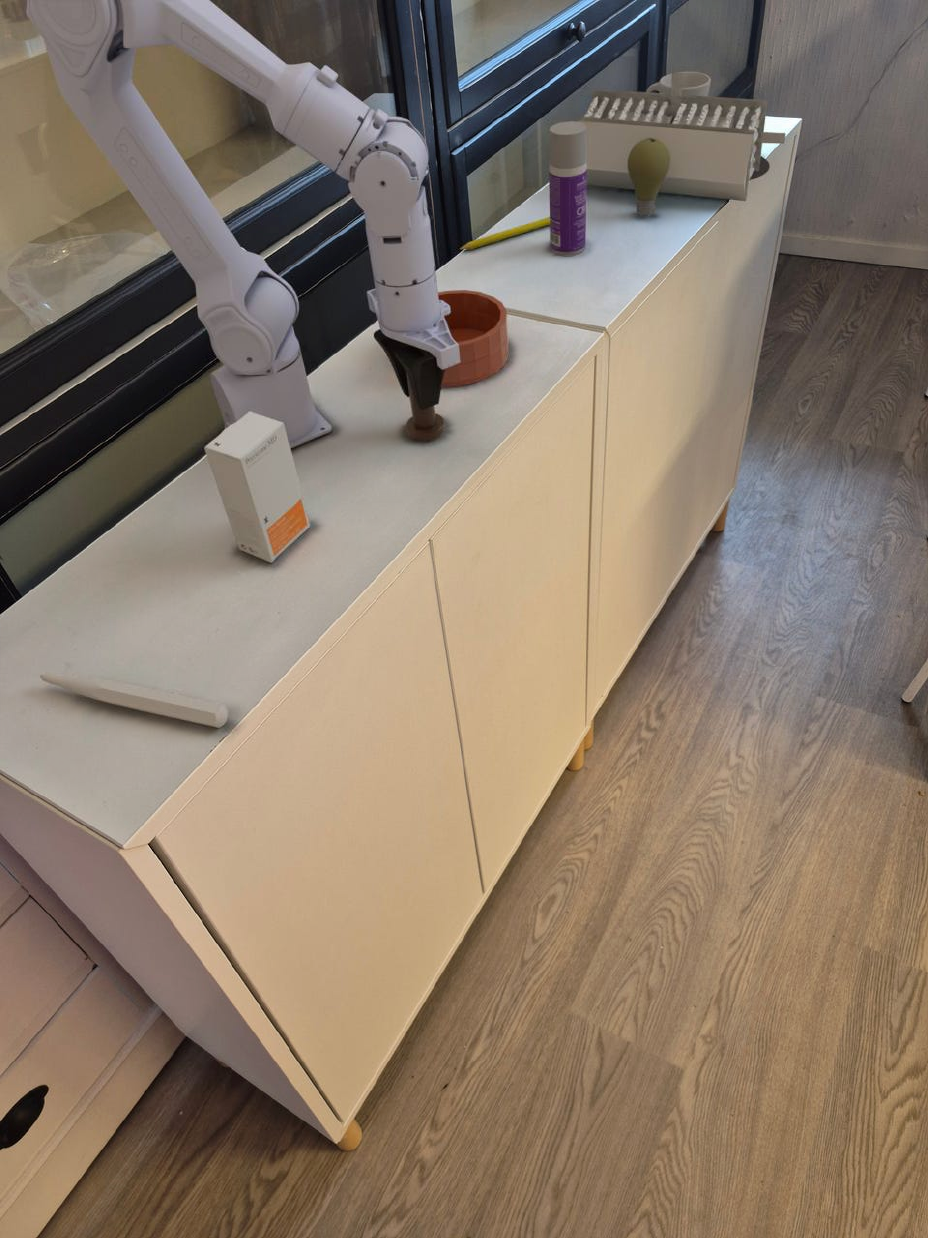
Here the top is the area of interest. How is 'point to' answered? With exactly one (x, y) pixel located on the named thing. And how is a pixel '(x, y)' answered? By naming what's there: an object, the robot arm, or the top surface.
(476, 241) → the pencil
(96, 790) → the top surface
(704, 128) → the miniature building
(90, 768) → the top surface
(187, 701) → the tool
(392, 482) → the top surface
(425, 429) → the pestle
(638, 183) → the light bulb
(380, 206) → the robot arm
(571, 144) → the container
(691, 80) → the cup
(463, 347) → the bowl
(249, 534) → the cosmetic box
